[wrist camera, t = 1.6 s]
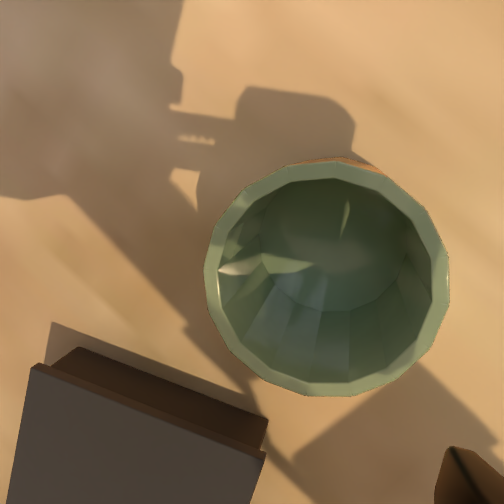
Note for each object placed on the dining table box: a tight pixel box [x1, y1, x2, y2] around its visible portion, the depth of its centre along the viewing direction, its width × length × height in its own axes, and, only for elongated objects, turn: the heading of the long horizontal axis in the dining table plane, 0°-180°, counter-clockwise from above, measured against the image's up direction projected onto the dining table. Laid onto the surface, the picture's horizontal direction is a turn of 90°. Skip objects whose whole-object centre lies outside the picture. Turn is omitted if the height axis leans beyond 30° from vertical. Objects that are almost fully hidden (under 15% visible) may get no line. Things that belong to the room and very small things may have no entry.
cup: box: [203, 157, 450, 397], centre depth 16 cm, size 7×7×7 cm
